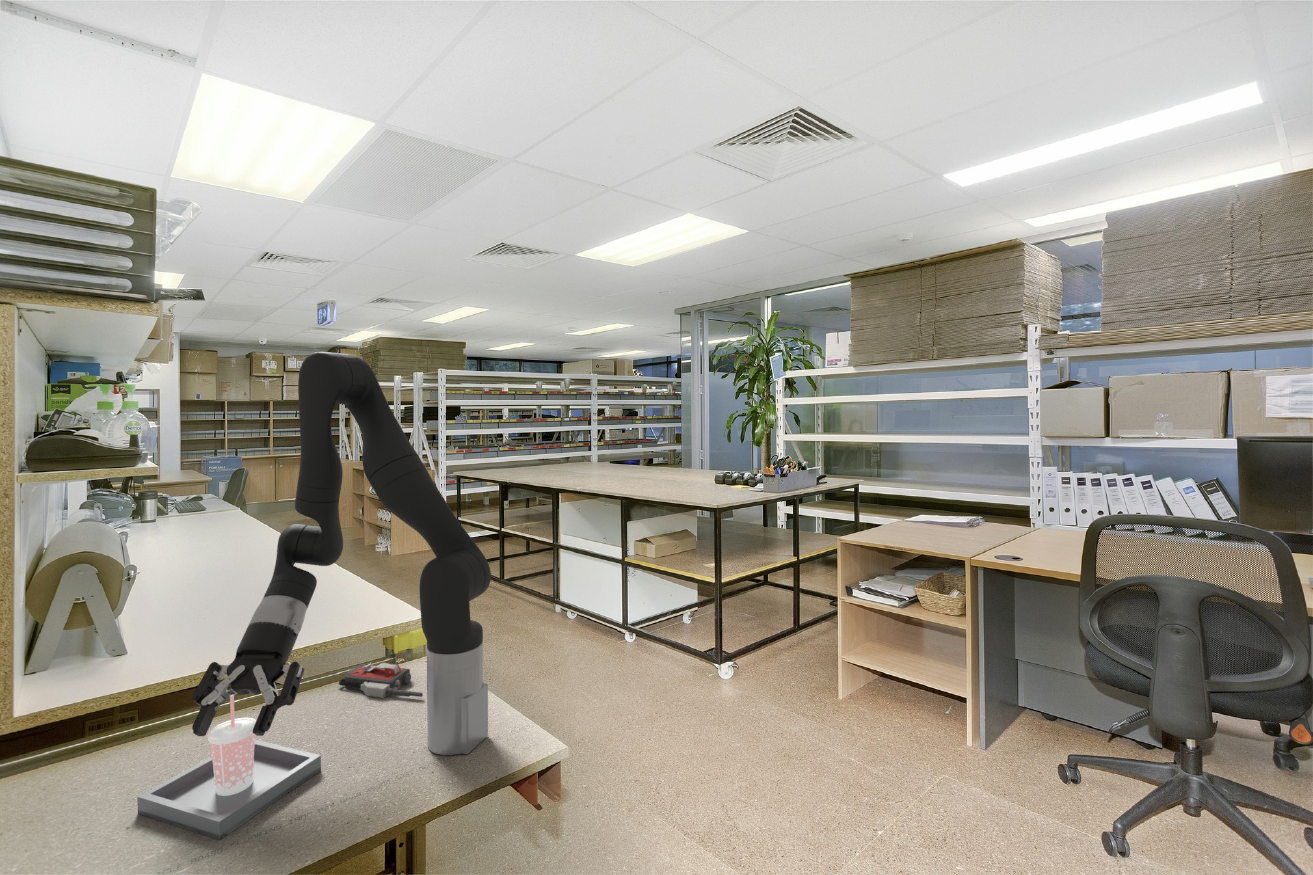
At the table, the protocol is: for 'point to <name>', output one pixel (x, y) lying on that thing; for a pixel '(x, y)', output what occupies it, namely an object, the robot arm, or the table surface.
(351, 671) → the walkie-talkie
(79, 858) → the table surface
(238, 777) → the beverage cup
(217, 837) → the tray
